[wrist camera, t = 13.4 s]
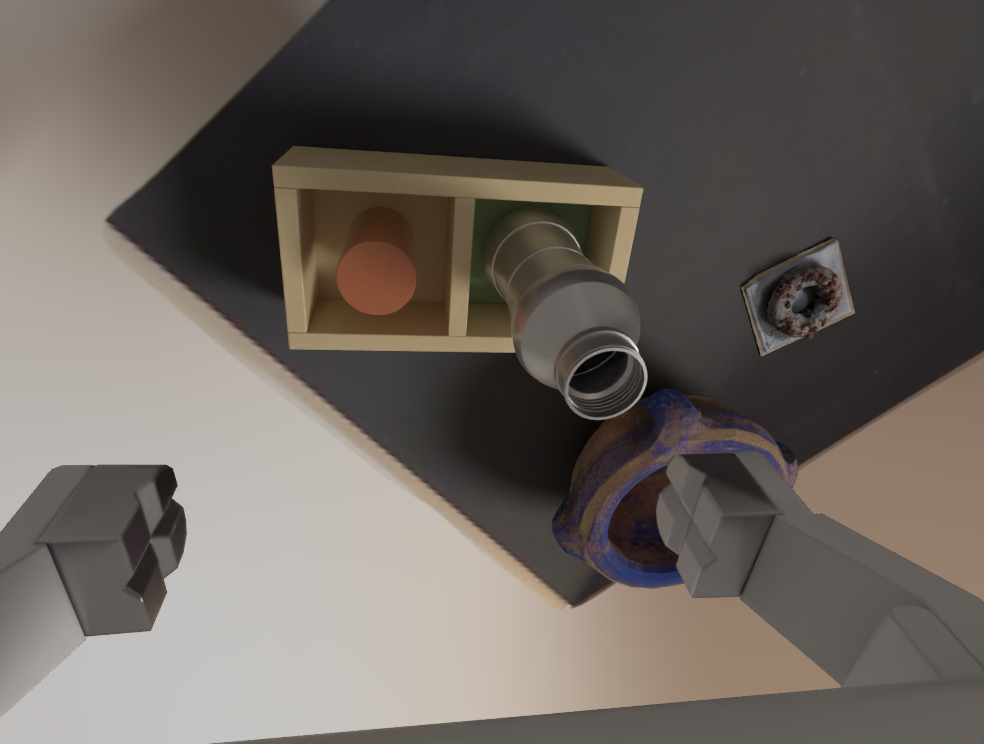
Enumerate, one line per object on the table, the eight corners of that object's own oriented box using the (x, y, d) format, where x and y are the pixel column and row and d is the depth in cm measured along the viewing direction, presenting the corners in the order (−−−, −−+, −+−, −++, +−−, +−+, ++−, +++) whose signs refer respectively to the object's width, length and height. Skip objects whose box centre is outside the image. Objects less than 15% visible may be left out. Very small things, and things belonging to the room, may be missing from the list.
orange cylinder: (346, 204, 40) (334, 238, 33) (415, 208, 40) (416, 242, 33) (349, 269, 42) (337, 314, 35) (414, 272, 42) (415, 316, 35)
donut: (838, 234, 46) (855, 241, 44) (852, 313, 50) (868, 323, 48) (739, 282, 47) (752, 292, 45) (760, 356, 51) (773, 367, 49)
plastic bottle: (460, 243, 42) (497, 385, 24) (534, 178, 40) (631, 282, 23) (515, 305, 44) (584, 472, 27) (587, 247, 43) (708, 385, 26)
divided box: (292, 145, 38) (271, 164, 32) (609, 166, 41) (644, 187, 35) (305, 307, 44) (288, 349, 38) (584, 314, 47) (610, 354, 41)
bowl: (654, 542, 61) (695, 625, 52) (514, 480, 54) (534, 563, 46) (778, 416, 55) (848, 486, 46) (635, 328, 48) (686, 391, 40)
